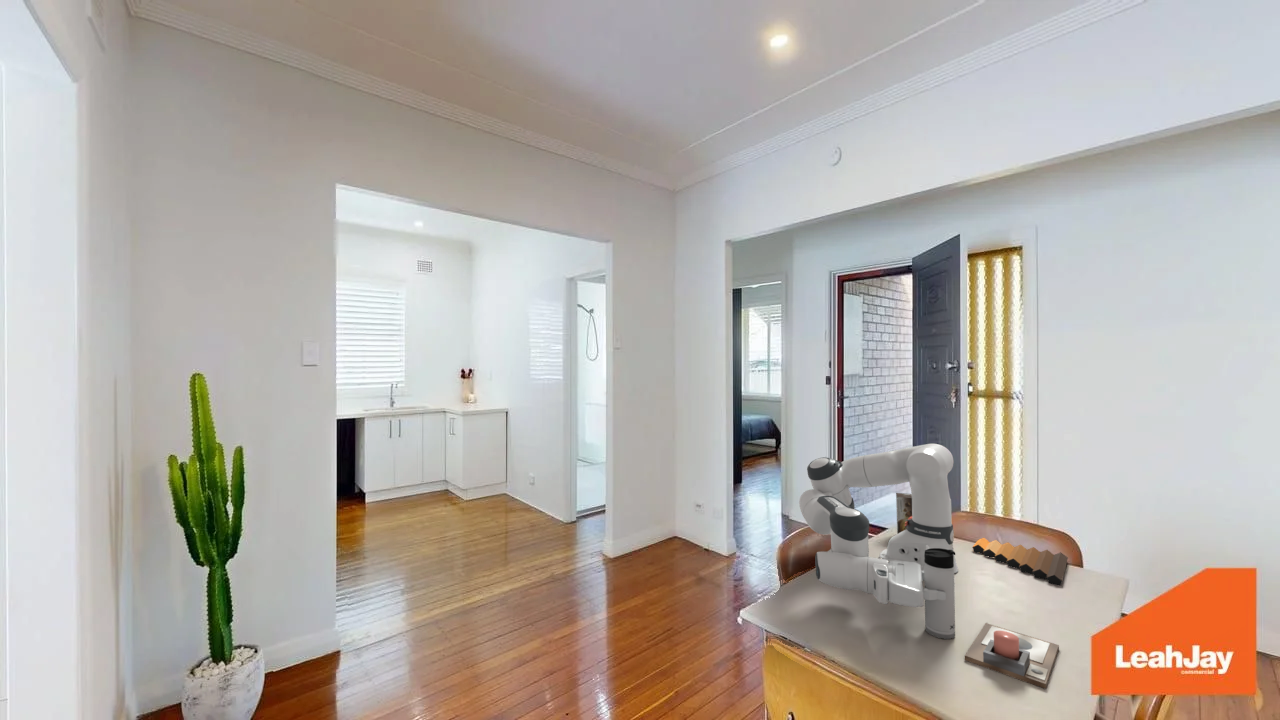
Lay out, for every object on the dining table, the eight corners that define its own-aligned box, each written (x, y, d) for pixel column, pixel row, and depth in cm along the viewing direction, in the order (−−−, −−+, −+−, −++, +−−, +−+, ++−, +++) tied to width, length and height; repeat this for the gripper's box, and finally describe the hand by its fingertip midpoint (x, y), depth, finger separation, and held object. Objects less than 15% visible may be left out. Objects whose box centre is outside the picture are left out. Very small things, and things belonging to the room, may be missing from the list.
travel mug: (961, 641, 117) (959, 555, 118) (930, 638, 119) (929, 553, 119) (950, 627, 123) (949, 546, 124) (921, 625, 125) (920, 544, 125)
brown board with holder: (964, 660, 110) (964, 645, 110) (985, 626, 124) (985, 613, 124) (1045, 689, 100) (1045, 672, 100) (1058, 649, 114) (1058, 635, 114)
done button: (991, 654, 107) (991, 635, 107) (996, 646, 110) (996, 628, 110) (1017, 663, 104) (1016, 643, 104) (1021, 654, 107) (1020, 635, 107)
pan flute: (1062, 588, 146) (1068, 563, 164) (1062, 576, 146) (1067, 553, 164) (963, 565, 164) (978, 545, 182) (962, 555, 164) (977, 536, 182)
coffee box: (923, 537, 189) (922, 494, 190) (925, 542, 184) (924, 498, 184) (896, 533, 193) (895, 492, 194) (897, 539, 187) (896, 496, 188)
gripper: (882, 574, 136) (941, 584, 130) (879, 606, 118) (947, 619, 112) (882, 551, 137) (940, 560, 130) (879, 579, 118) (947, 591, 112)
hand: (944, 587), depth 121 cm, fingers open, 8 cm apart
